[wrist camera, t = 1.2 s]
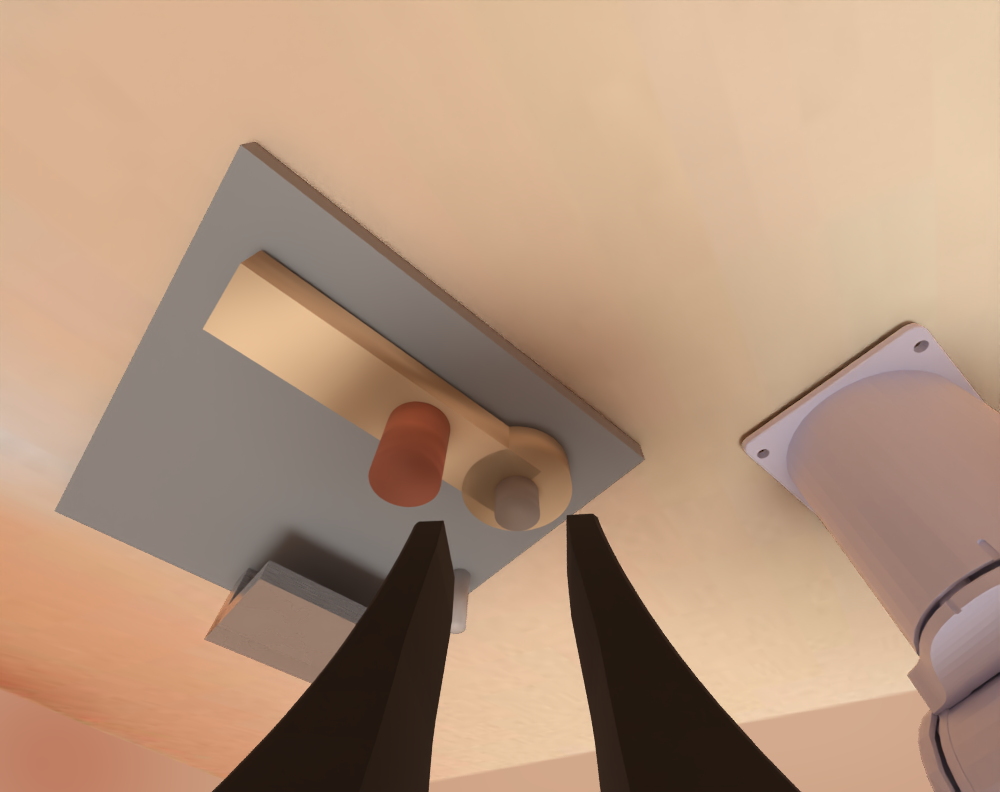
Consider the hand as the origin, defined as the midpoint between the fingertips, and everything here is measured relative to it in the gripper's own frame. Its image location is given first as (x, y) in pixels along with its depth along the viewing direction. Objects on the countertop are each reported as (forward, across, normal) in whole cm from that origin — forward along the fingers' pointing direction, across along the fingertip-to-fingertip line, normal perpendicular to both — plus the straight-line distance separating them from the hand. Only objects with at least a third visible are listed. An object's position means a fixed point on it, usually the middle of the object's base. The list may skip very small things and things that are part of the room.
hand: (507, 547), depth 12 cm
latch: (+9, +4, +1) cm, 10 cm away
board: (+10, +8, +6) cm, 14 cm away
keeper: (+10, +9, +14) cm, 20 cm away
